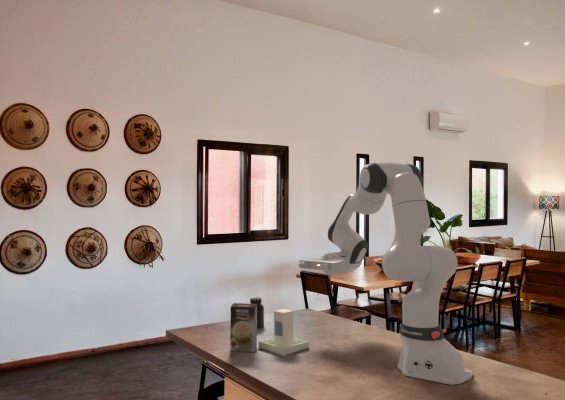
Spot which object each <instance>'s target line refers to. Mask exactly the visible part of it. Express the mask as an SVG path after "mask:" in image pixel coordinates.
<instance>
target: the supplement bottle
mask: <svg viewBox="0 0 565 400" xmlns="http://www.w3.org/2000/svg"><path fill="white" fill-rule="evenodd" d="M249 301H250V303H249V304H257V329H262V328H264V326H265V306H264V305H263V304H262V298H261V297H251V298H250V300H249ZM261 327H262V328H261Z"/></svg>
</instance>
